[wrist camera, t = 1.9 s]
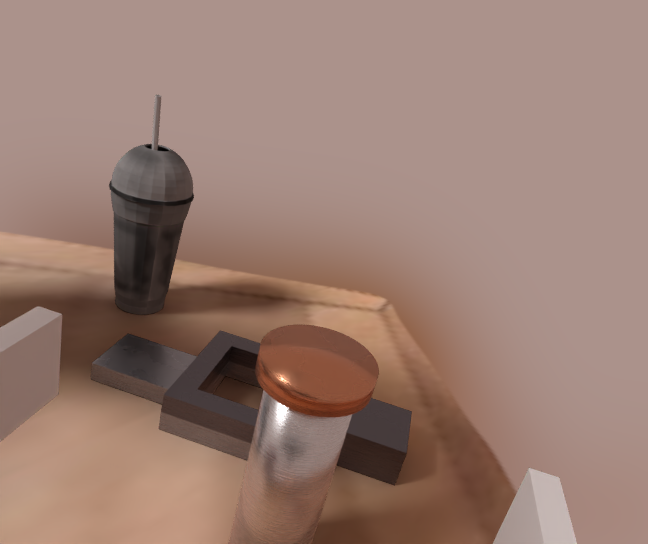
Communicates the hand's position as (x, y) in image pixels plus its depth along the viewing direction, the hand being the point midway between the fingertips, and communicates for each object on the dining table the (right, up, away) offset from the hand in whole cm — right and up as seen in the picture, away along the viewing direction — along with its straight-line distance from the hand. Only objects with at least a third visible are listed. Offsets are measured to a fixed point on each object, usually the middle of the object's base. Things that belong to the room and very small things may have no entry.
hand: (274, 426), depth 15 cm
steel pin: (-2, -12, +16) cm, 20 cm away
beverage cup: (-17, +1, +39) cm, 42 cm away
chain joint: (-5, -7, +28) cm, 29 cm away
